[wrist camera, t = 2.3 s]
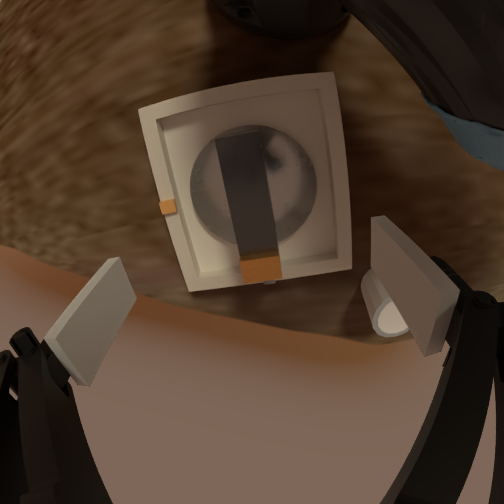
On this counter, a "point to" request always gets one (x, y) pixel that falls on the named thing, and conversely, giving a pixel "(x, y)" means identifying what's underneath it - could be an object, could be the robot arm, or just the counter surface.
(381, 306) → the shot glass
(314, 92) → the housing
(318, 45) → the counter surface
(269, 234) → the dial
